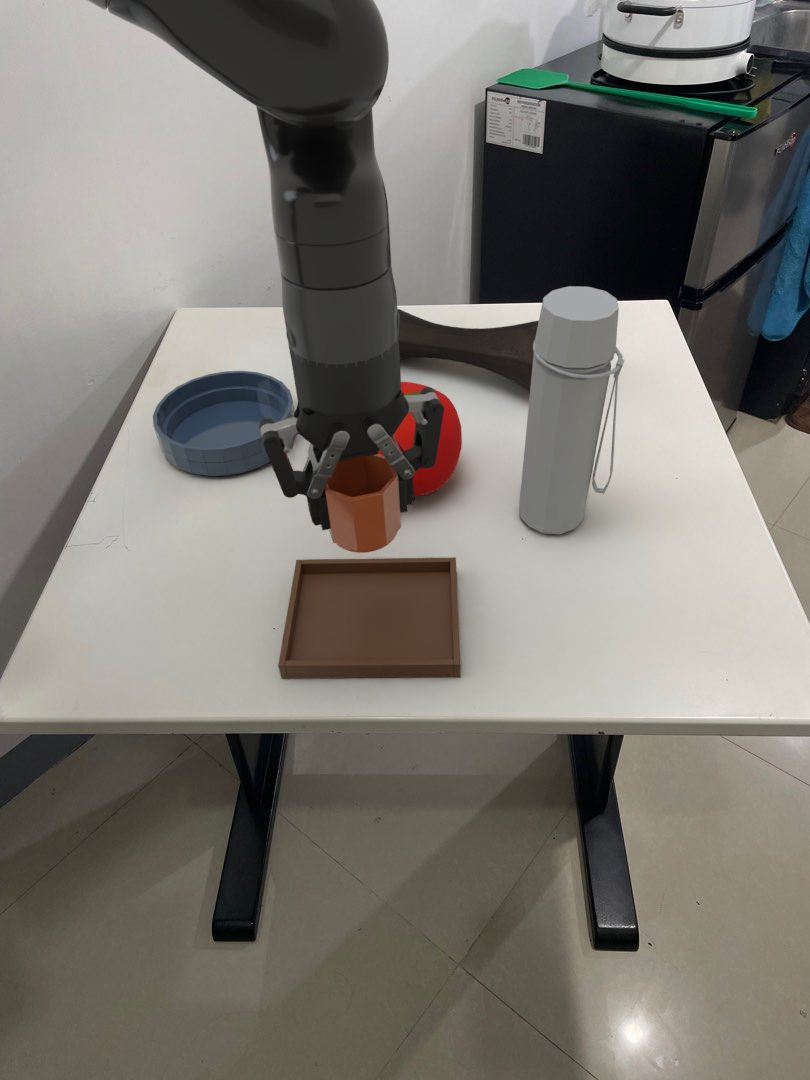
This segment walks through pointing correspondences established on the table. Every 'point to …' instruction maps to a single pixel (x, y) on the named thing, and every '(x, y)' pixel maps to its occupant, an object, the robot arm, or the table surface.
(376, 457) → the small cup
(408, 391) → the tomato
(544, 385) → the water bottle
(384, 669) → the tray
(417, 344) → the dark brown flared cylinder
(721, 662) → the table surface
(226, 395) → the big bowl
